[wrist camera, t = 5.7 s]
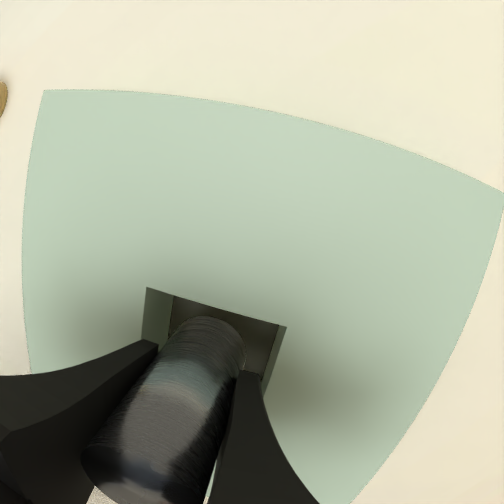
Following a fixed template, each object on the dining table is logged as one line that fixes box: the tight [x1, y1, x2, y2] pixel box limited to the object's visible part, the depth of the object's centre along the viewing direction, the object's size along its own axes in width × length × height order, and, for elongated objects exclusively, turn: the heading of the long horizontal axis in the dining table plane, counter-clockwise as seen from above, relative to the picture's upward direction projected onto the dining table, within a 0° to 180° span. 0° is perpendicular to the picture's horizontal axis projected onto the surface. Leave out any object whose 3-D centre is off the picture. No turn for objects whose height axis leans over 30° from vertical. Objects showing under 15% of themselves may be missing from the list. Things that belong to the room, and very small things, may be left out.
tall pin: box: [81, 316, 246, 504], centre depth 9 cm, size 3×3×7 cm
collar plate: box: [22, 89, 504, 504], centre depth 13 cm, size 18×18×4 cm
